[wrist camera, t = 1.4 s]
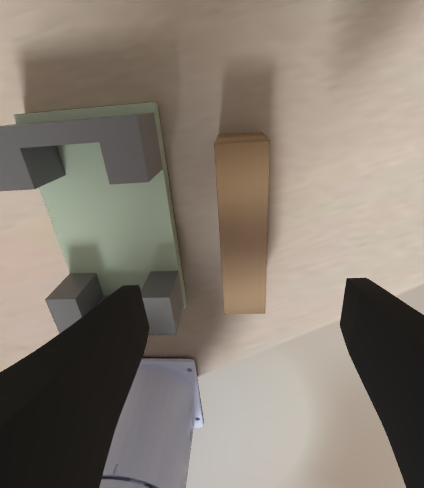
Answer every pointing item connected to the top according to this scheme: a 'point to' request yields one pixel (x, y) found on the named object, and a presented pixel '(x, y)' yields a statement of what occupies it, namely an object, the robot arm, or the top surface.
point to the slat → (243, 219)
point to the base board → (110, 210)
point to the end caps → (119, 172)
